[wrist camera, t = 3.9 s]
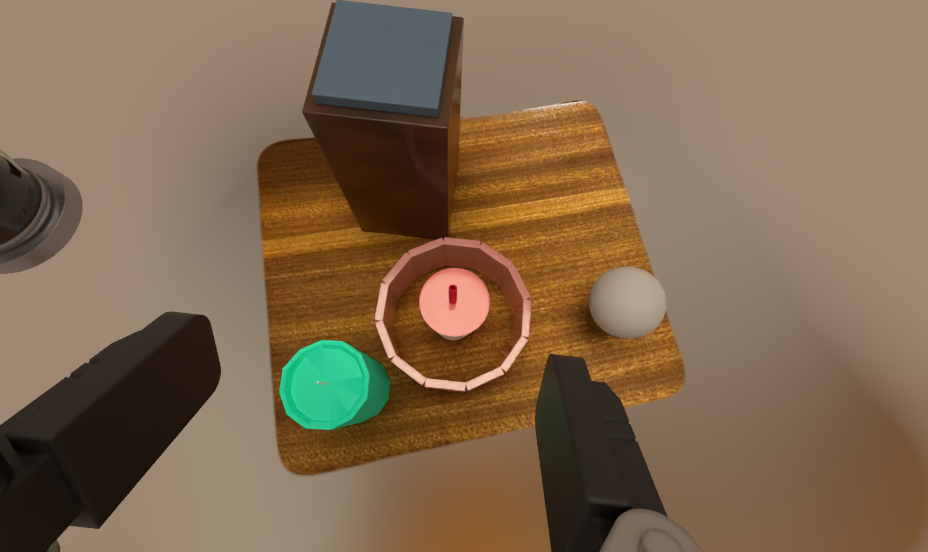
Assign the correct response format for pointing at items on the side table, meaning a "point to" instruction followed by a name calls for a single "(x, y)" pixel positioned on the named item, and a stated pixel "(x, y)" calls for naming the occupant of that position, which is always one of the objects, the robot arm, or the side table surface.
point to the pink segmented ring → (463, 257)
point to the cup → (454, 302)
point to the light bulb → (626, 303)
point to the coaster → (384, 59)
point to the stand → (395, 155)
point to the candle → (333, 386)
